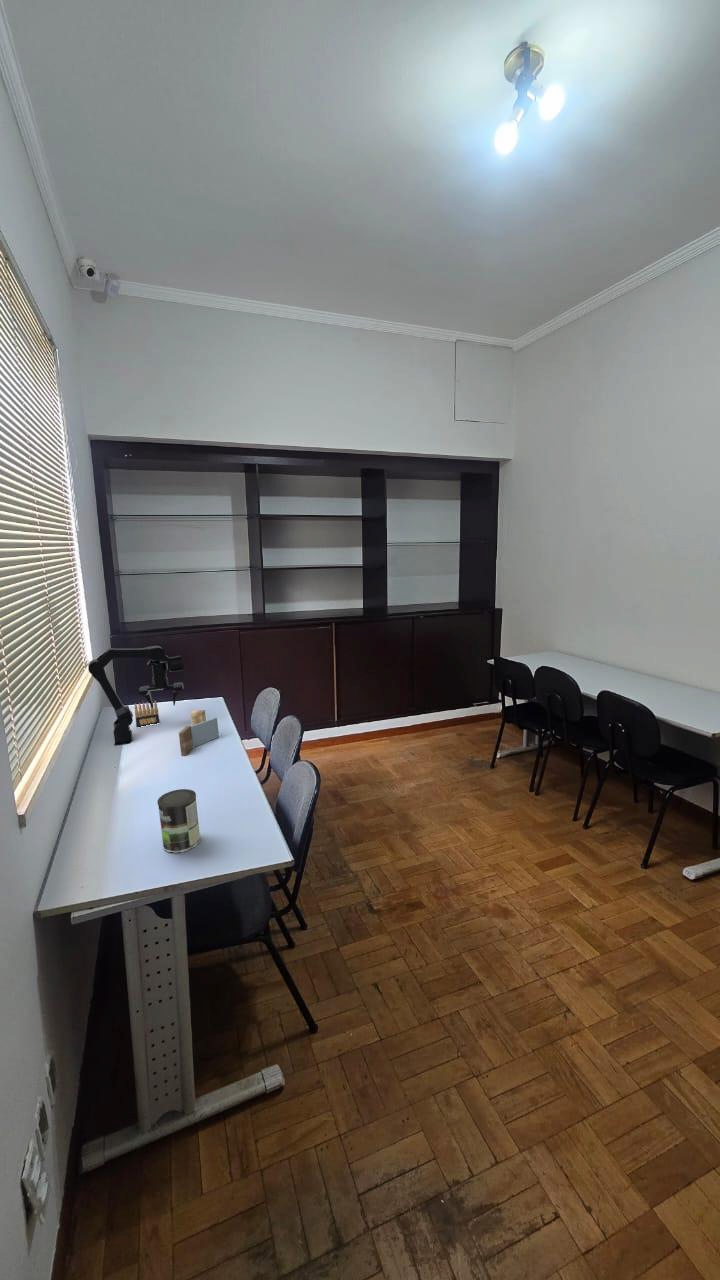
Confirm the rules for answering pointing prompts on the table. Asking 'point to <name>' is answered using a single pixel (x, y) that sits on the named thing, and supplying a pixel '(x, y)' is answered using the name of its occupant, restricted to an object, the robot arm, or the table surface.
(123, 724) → the robot arm
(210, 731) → the door
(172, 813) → the coffee can
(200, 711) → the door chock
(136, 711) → the ammunition clip
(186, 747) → the partition wall
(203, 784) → the table surface
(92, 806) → the table surface
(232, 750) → the table surface
